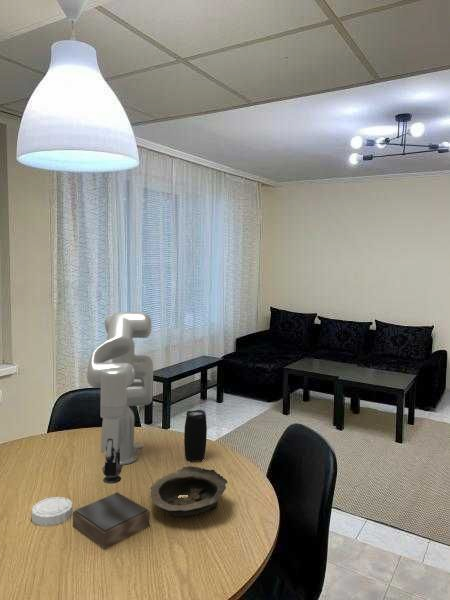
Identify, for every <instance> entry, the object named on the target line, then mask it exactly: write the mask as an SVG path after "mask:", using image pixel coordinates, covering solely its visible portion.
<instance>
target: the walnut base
mask: <svg viewBox="0 0 450 600" xmlns="http://www.w3.org/2000/svg"><path fill="white" fill-rule="evenodd" d="M150 513H151V511H150V510H149V509H147V508H146V507H144V506H142V505H140V504H139V503H138V502H135V501H134V500H131V499H130V498H128V497H126V496H125V495H123V494H121V493H120V492H114V493H112V494H110V495H108V496H106V497H103V498H100V499H98V500H96V501H93V502H91V503H89V504H87V505H84V506H82V507H79V508H77V509H75V510H73V512H72V527H73V528H74V529H75V530H77V531H78V532H80V533H81V534H82V535H84V536H85V537H86V538H88V539H89V540H91V541H92V542H93V543H95V544H96V545H97V544H98V546H99V547H100V548H102V549H103V550H106V549H107V547H108V548H109V546H110V547H111V546H113V545H115V544H117V543H119V542H121V541H123V540H124V539H127V538H129V537H130V536H133V535H134V534H136V533H138V532H140V531H142V530H144V529H145V528H148V527H149V525H150V522H151V521H150V520H151V519H150V518H151V515H150ZM147 526H148V527H147ZM139 530H140V531H139ZM105 548H106V549H105Z"/></svg>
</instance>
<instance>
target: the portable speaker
mask: <svg viewBox="0 0 450 600" xmlns="http://www.w3.org/2000/svg"><path fill="white" fill-rule="evenodd" d="M207 431H208V426H207V415H206V412H205V411H204V410H202V409H196V410H187V411H186V416H185V423H184V432H183V433H184V438H183V444H184V457H185V460H186V462H188V461H190V462H189V463H193V462H195V461H199V462H203V461H204V460H205V456H206V455H205V454H206V450H207V449H206V447H207V437H208V436H207ZM203 459H204V460H203ZM202 460H203V461H202Z"/></svg>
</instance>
